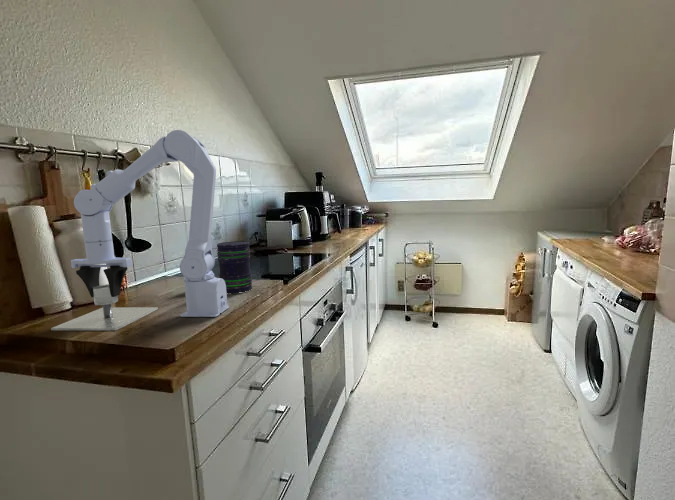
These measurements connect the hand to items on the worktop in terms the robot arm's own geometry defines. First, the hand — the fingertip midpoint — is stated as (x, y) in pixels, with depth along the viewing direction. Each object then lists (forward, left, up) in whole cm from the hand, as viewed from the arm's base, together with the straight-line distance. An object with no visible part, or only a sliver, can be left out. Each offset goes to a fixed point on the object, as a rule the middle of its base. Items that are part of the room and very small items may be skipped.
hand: (105, 296), depth 91 cm
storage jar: (-22, -28, -6) cm, 36 cm away
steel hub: (0, 0, -2) cm, 2 cm away
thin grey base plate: (0, 0, -6) cm, 6 cm away
